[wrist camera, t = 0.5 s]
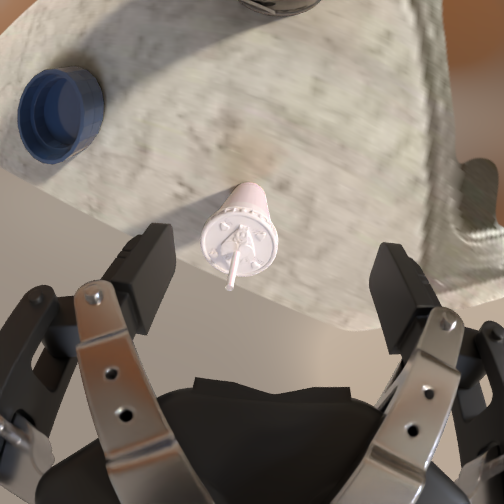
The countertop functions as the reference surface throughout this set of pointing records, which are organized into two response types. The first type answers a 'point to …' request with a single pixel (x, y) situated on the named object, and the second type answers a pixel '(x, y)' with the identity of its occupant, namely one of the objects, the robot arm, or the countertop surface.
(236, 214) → the smoothie
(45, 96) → the bowl
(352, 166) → the countertop surface
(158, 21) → the countertop surface
